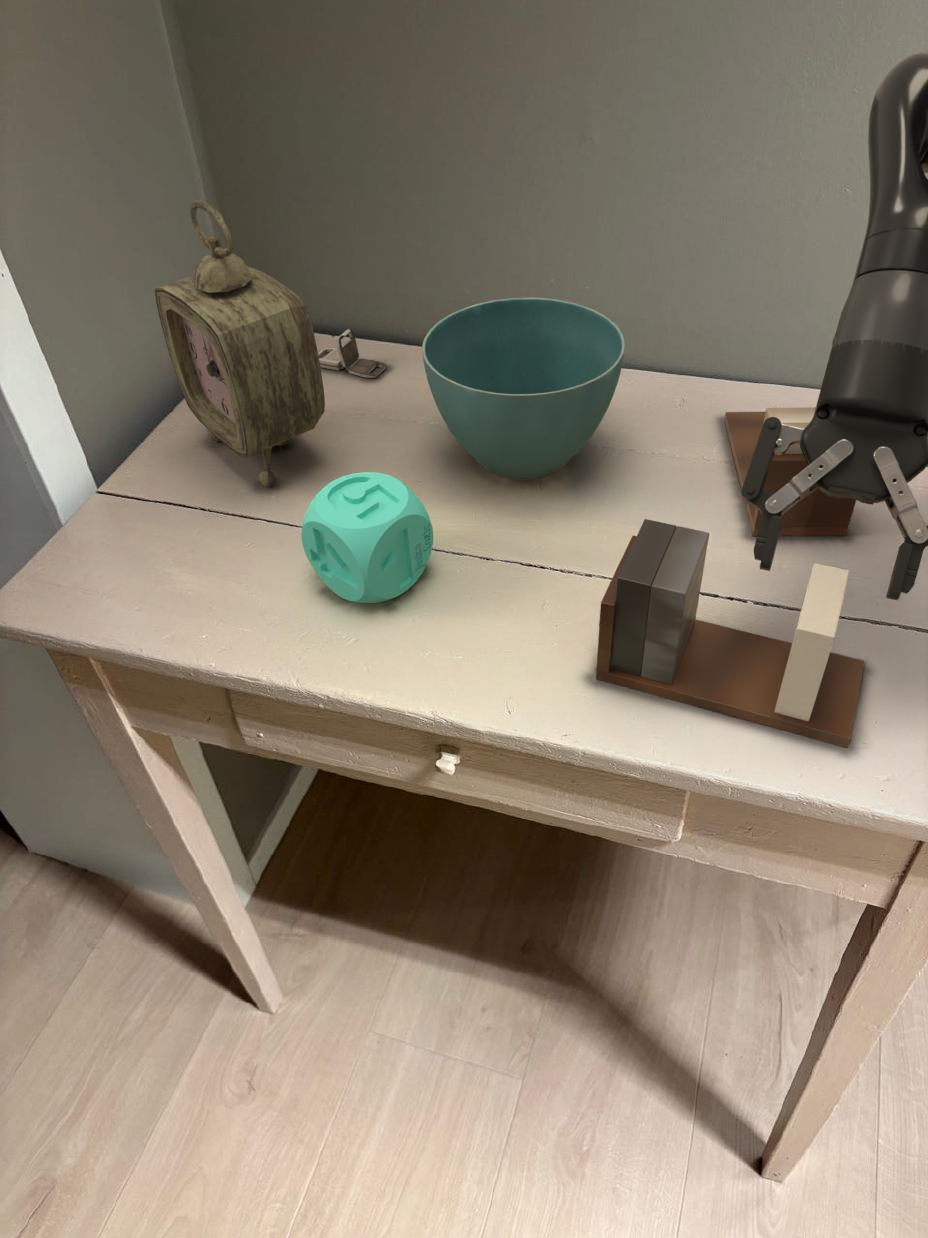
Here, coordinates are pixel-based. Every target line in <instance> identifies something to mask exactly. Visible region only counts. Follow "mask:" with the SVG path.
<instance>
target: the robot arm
mask: <svg viewBox="0 0 928 1238" xmlns="http://www.w3.org/2000/svg"><path fill="white" fill-rule="evenodd" d="M867 131H868V134H867V147H868V148H867V150H868V151H867V152H868V168H869V169H868V170H869V205H868V216H867V217H868V218H867V225H866V230H865V235H864V239H863V242H862V247H861V251H860V254H859V259H858V262H857V266H856V270H855V274H854V276H853V281H852V284H851V287H850V291H849V293H848V296H847V298H846V300H845V302H844V304H843V307H842V310H841V312H840V316H839V319H838V322H837V327H836V330H835V333H834V336H833V339H832V342H831V343H832V344H831V345H832V346H831V349H830V353H829V356H828V360H827V364H826V368H825V372H824V375H823V379H822V383H821V386H820V392H819V393H818V398H817V402H816V405H815V407H816V409H815V413H814V416H813V418H812V420H811V422H810V423H809V424H808V425H807V426H806V427H805V428H804V429H803V428H799V427H795V426H790V425H786V424H782V423H781V421H780V420H779V419H778V418H776V417H769V418H767V419H766V420H765V421H764V424H763V427H762V430H761V433H760V436H759V439H758V442H757V445H756V448H755V451H754V454H753V457H752V460H751V463H750V466H749V469H748V472H747V475H746V478H745V481H744V484H743V487H742V489H741V495H742V499H743V502H744V503H745V502H746V503H747V504H750V505H752V506H754V507H755V508H757V509H758V510H760V512H761V513H762V520H761V523H760V527H759V531H758V535H757V536H756V539H755V543H754V546H753V554H754V555H753V557H754V560H755V561H760V564H759V570H763V571H767V572H771V569H772V565H773V562H774V557H775V553H776V550H777V546H778V544H779V539H780V536H779V535H780V532H781V528H782V524H783V517H782V515H783V514H784V513H785V512H786V511H788V510H789V509H790V508H792V507H793V506H794V505H795V504H797V503H798V502H799V501H801V500H803V499H804V498H806V497H807V496H808V495H809V494H811V493H812V492H813V491H814V490H816V489H817V488H819V489H820V490H821V491H822V492H824V493H826V494H827V496H830V497H835V498H849V497H850V498H853V499H855V500H856V502H859V503H860V504H866V505H870V506H873V505H874V504H880V503H883V502H884V503H885V504H886V508H887V509H888V511H889V513H890V515H891V517H892V519H893V520H894V522H896V526H897V527H898V529H899V531H900V533H901V535H902V538H903V539H904V540H903V542H902V543H901V544H900V545H899V546H898V550H897V554H896V558H895V560H894V564H893V568H892V573H891V576H890V579H889V583H888V587H887V591H886V594H885V599H889V600H893V601H898V600H900V597H901V594H908V593H910V591H911V590H912V589H913V588H914V587H915V584H916V580H917V576H918V572H919V569H920V566H921V562H922V557H923V554H924V550H925V549H926V548H927V547H928V525H927V524H926V522H925V520H924V518H923V516H922V514H921V512H920V509H919V508H918V503H917V500H916V498H915V496H914V494H913V491H912V490H911V488H910V486H909V484H908V483H910V482H911V481H912V480H913V479H915V478H917V476H919V475H920V474H921V473H922V472H923V471H925V469H926V468H928V178H927V175H928V52H916V53H912V54H910V55H907V56H906V57H904V58H902V59H901V60H900V61H898V62H897V63H896V64H894V66H893V67H892V68H891V69H890V70H889V71H888V72H887V73H886V75H885V76H884V77H883V79H882V80H881V82H880V84H879V85H878V87H877V89H876V92H875V94H874V97H873V100H872V103H871V107H870V111H869V118H868V130H867ZM793 444H800V448H801V450H802V453H803V455H804V457H805V460H806V462H807V464H808V466H807V467H806V468H805V469H803V470H802V471H801V472H800V473H798V474H797V475H796V476H795V477H793V478H792V479H791V480H790V481H789V482H788V483H787V484H786V485H785V486H784V487H782V488H781V489H780V490H779V491H777V492H776V493H775V494H774V495H772V494H771V493H769V492H767V491H766V490H764V489H763V488H764V485H765V482H766V479H767V476H768V473H769V470H770V467H771V464H772V461H773V458H774V455H783V454H784V453H786V451H787V450H788V448H789V447H790V446H791V445H793Z"/></svg>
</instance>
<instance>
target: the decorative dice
mask: <svg viewBox="0 0 928 1238" xmlns="http://www.w3.org/2000/svg"><path fill="white" fill-rule="evenodd" d="M300 535H301V536H300V537H301V543H302V549H303V550H304V553H305V556H306V558H307V560H308V562H309V564H310V566H311V567H312V569H313V571H314V572H315V574H316V575H317V576H318V578H319V579H320V580H321V581H322V582H323V584H324V585H325V586H326V587H327V588H328V589H329V590H331V591H332V592H333V593H334V594H336V595H337V596H338V597H340V598H341V599H344V600H345V601H350V602H353V603H359V604H376V603H377V604H379V603H383V602H386V601H390V600H392V599H395V598H397V597H399V596H401V595H402V594H404V593H405V592H407V591H408V590H409V589H410V588H411V587H412V586H413V585H415V584H416V582H417V581H418V580H419V578H420V577H421V575H422V574H423V573H424V571H425V570H426V568H427V565H428V563H429V561H430V558H431V555H432V551H433V546H434V528H433V524H432V521H431V518H430V515H429V513H428V511H427V509H426V508H425V505H424V504H423V502H422V500H421V499H420V498H419V496H418V495H417V494H416V493H415V492H414V490H412V488H410V487H409V486H408V485H407V484H406V483H405V482H403V481H401V479H398V478H396V477H394V476H392V475H390V474H386V473H383V472H374V471H362V472H355V473H350V474H346V475H342V476H340V477H338V478H336V479H333V480H332V481H330V482H329V483H328V484H326V485H325V486H324V487H322V489H320V491H318V493H317V494H316V495H315V496H314V498H313V499H312V501H311V502H310V503H309V506H308V508H307V510H306V512H305V514H304V517H303V520H302V526H301V534H300Z"/></svg>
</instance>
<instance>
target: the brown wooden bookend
mask: <svg viewBox="0 0 928 1238" xmlns="http://www.w3.org/2000/svg"><path fill="white" fill-rule="evenodd" d="M709 539H710V532H707V531H703V530H698V529H693V528H689V527H684V526H680V525H676V524H671V523H666V522H662V521H656V520H652V519H648V518H644V520H643V521H642V524H641V526H640V528H639V531H638V532H637V535H632V536H631V538H630V540H629V542H628V544H627V546H626V549H625V550H624V552H623V555H622V557H621V559H620V561H619V563H618V565H617V568H616V569H615V572H614V574H613V576H612V578H611V580H610V583H609V584H608V586H607V589H606V591H605V592H604V595H603V596H602V599H601V601H600V607H599V608H600V611H599V623H598V624H599V625H598V627H599V628H598V640H597V643H598V644H597V655H596V658H597V659H596V671H595V679H596V680H599V681H602V682H605V683H606V682H607V683H609V684H614V685H617V686H621V687H625V688H628V689H631V690H635V691H638V692H642V693H646V694H650V695H653V696H658V697H661V698H664V699H668V700H671V701H675V702H680V703H683V704H686V705H691V706H693V707H696V708H697V707H698V708H702V709H705V710H708V711H712V712H716V713H720V714H723V715H726V716H731V717H734V718H738V719H741V720H746V721H749V722H753V723H757V724H759V725H763V726H768V727H771V728H775V729H778V730H781V731H782V730H783V731H786V732H789V733H792V734H796V735H801V736H804V737H808V738H812V739H815V740H818V741H822V742H826V743H830V744H833V745H836V746H841V747H844V748H848V747H849V743H850V741H851V737H852V733H853V727H854V722H855V716H856V711H857V707H858V699H859V695H860V688H861V684H862V679H863V673H864V667H865V662H866V661H865V660H864V659H860V658H855V657H852V656H848V655H843V654H839V653H835V652H831V651H830V655H829V658H828V661H827V664H826V667H825V671H824V674H823V677H822V680H821V684H820V687H819V690H818V693H817V697H816V700H815V703H814V706H813V709H812V713H811V716H810V719H809V721H804V720H801V719H797V718H793V717H790V716H786V715H782V714H778V713H775V712H774V711H775V707H776V704H777V700H778V696H779V692H780V688H781V684H782V681H783V677H784V673H785V669H786V665H787V661H788V658H789V654H790V650H791V646H792V642H790V641H786V640H782V639H777V638H773V637H770V636H765V635H761V634H757V633H753V632H749V631H745V630H741V629H737V628H732V627H728V626H724V625H720V624H716V623H713V622H709V621H704V620H701V619H697V614H698V613H697V612H698V608H699V607H698V605H699V600H700V593H701V589H702V583H703V576H704V569H705V563H706V558H707V552H708V551H707V550H708V545H709Z"/></svg>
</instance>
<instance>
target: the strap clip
mask: <svg viewBox="0 0 928 1238" xmlns="http://www.w3.org/2000/svg"><path fill="white" fill-rule="evenodd" d="M346 336H349V340H348V341H346V342H345V343H344V344H343V345H342V340H343V339H344V338H345V337H346ZM336 347H337V348H334V347H331V348H330V347H327V348H323V349H321V351H319V352H318V356H319V361H320V367H321V369H328V370H332V371H340V370H343V369H344V368H345V370H347V371H348V373H349V374H351V375H353V376H354V375H355V376H358V377H361V378H367V379H368V378H369V379H372V378H376V377H379V375H380V374H381V373H383V371H384V370H385V369H386V368H387V364H386V363H385V362H381V361H378V360H372V359H366V358H360V353H359V350H358V344H357V341H356V336H355V334H354V331H353V329H352V328H348V329H346V330H344V332H342V334H340V335H339V336H337V339H336ZM376 368H379V369H377V370H376V371H375V372H374V373H372V371H373V370H374V369H376Z"/></svg>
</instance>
